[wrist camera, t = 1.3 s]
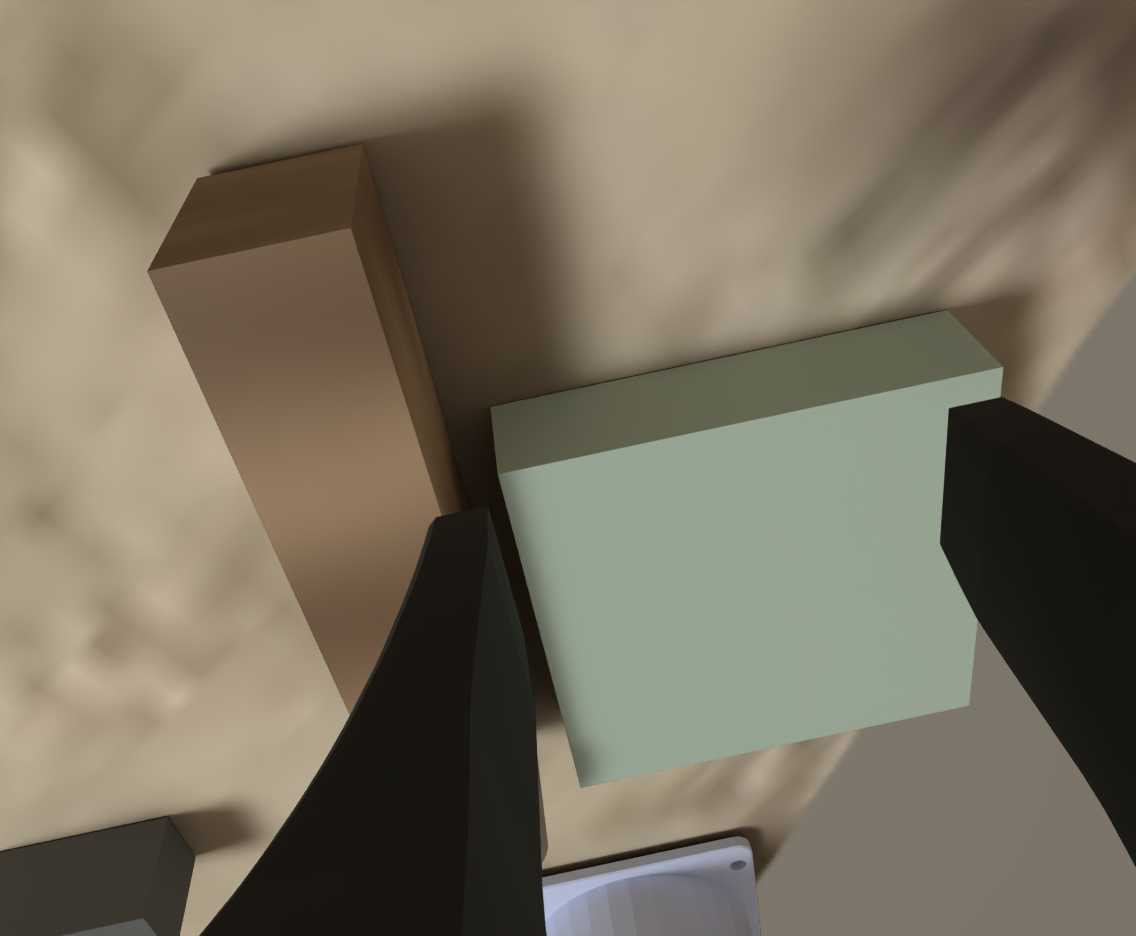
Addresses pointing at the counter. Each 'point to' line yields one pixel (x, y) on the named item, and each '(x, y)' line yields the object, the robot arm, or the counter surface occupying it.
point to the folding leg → (316, 387)
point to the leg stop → (98, 884)
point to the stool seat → (746, 544)
